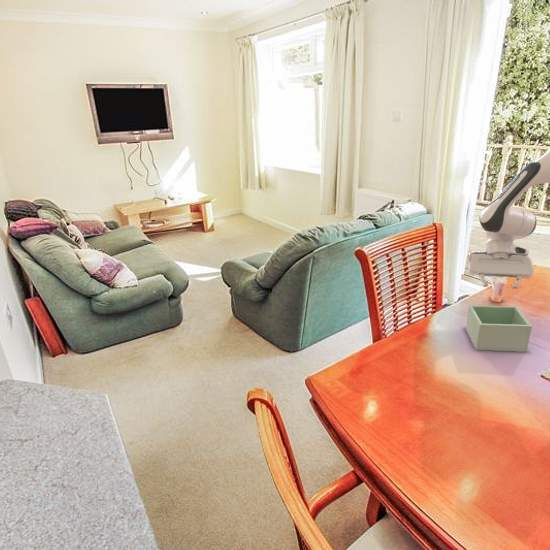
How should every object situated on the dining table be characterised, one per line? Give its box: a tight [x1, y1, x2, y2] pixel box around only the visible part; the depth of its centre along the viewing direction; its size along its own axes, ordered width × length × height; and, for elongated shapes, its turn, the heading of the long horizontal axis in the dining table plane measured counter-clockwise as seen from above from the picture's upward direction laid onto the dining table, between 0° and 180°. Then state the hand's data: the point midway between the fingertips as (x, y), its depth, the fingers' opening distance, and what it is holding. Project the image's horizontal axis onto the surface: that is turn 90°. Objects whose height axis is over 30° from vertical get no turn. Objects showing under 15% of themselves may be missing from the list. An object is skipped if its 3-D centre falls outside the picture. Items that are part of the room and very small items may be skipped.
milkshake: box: [490, 276, 512, 303], centre depth 135 cm, size 4×5×10 cm
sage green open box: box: [465, 304, 533, 353], centre depth 114 cm, size 14×12×9 cm
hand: (500, 287), depth 135 cm, fingers open, 8 cm apart
